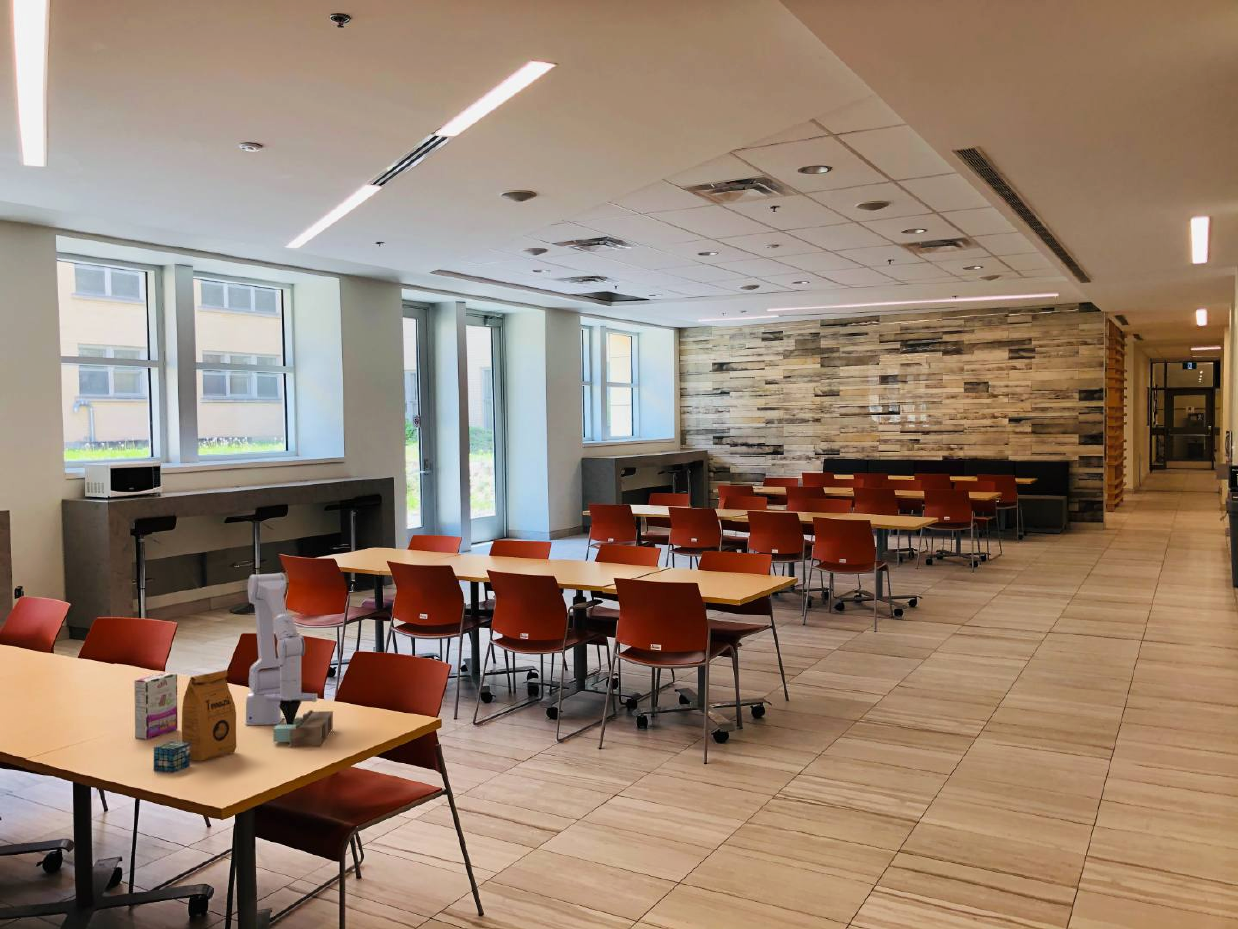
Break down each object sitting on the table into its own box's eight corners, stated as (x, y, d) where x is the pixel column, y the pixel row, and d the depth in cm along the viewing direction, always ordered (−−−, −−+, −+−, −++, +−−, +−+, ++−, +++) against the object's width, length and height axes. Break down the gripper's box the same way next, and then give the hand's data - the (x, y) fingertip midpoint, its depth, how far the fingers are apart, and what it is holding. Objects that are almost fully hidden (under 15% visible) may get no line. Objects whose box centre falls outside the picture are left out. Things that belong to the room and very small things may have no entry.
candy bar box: (164, 728, 280) (165, 671, 280) (178, 730, 278) (178, 673, 278) (133, 738, 269) (133, 679, 269) (146, 740, 268) (147, 681, 268)
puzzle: (170, 764, 246) (170, 741, 246) (190, 766, 244) (190, 743, 244) (153, 771, 240) (153, 747, 240) (172, 773, 239) (173, 749, 239)
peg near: (273, 742, 263) (273, 728, 263) (277, 737, 267) (277, 725, 267) (303, 741, 264) (303, 728, 264) (306, 737, 268) (306, 724, 268)
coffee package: (241, 753, 255) (242, 670, 255) (198, 765, 245) (199, 679, 245) (219, 747, 261) (220, 666, 261) (176, 759, 250) (177, 674, 251)
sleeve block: (289, 747, 261) (290, 726, 261) (304, 730, 278) (304, 710, 278) (320, 746, 262) (320, 725, 262) (332, 730, 279) (332, 710, 279)
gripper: (260, 682, 269) (260, 731, 269) (313, 682, 270) (313, 730, 270) (267, 677, 276) (267, 724, 276) (319, 676, 277) (318, 723, 277)
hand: (290, 727), depth 273 cm, fingers closed
